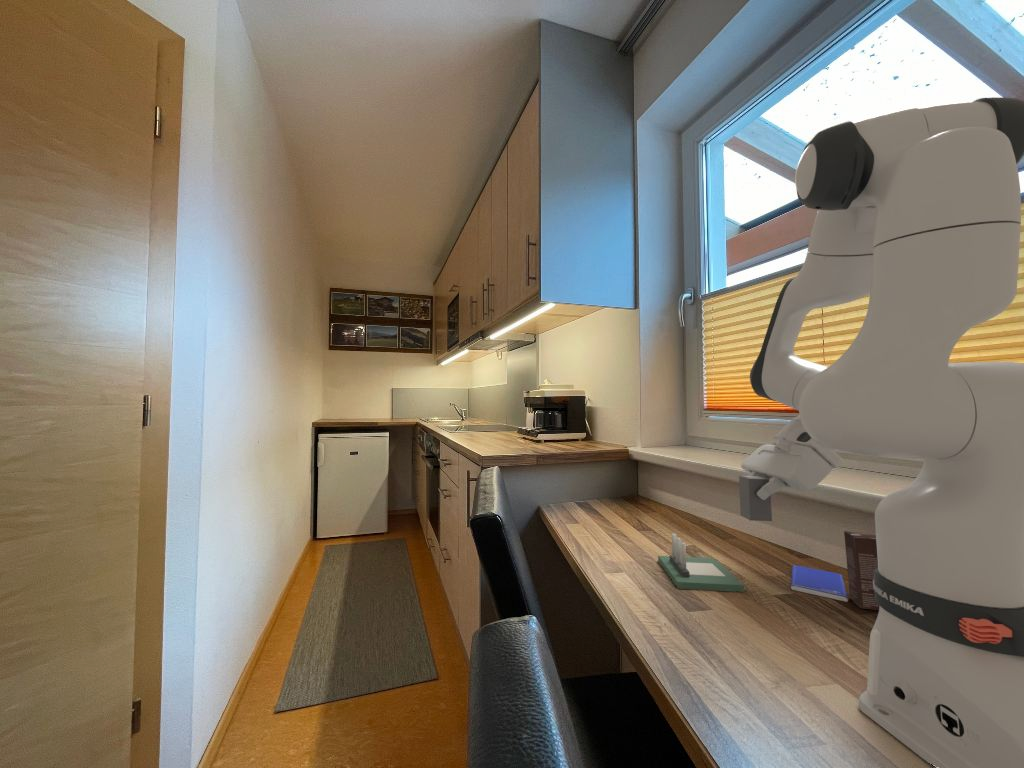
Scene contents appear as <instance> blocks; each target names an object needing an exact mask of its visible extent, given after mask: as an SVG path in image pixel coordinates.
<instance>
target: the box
mask: <svg viewBox="0 0 1024 768" xmlns="http://www.w3.org/2000/svg"><path fill="white" fill-rule="evenodd" d="M843 533H844V544H845V558H846V567H847V580H848V581H847V582H848V589H849V590H848V591H849V593H848V594H849V599H850V600H851V601H852V602H853V603H854V604H855V605H856V606H858V607H859V608H860V609H867V610H873V611H879V606H880V605H879V604H878V603H877V602H876V601H875V593H874V588H873V580H874V570H875V569H876V568H878V557H877V543H876V532H874V533H872V532H859V531H849V530H848V531H847V530H845V531H844V532H843Z"/></svg>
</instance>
